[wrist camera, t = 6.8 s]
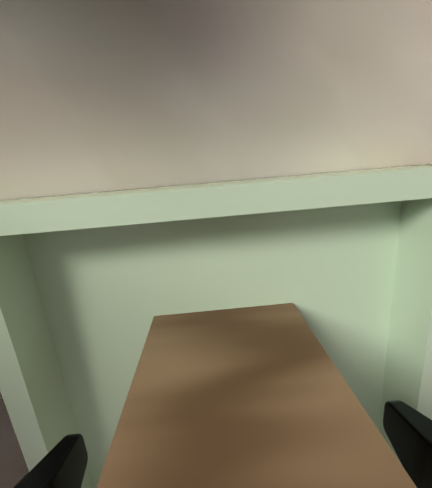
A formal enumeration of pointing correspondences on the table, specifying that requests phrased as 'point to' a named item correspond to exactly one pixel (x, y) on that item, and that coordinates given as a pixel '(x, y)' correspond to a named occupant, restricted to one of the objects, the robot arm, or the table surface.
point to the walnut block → (244, 410)
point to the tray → (210, 288)
